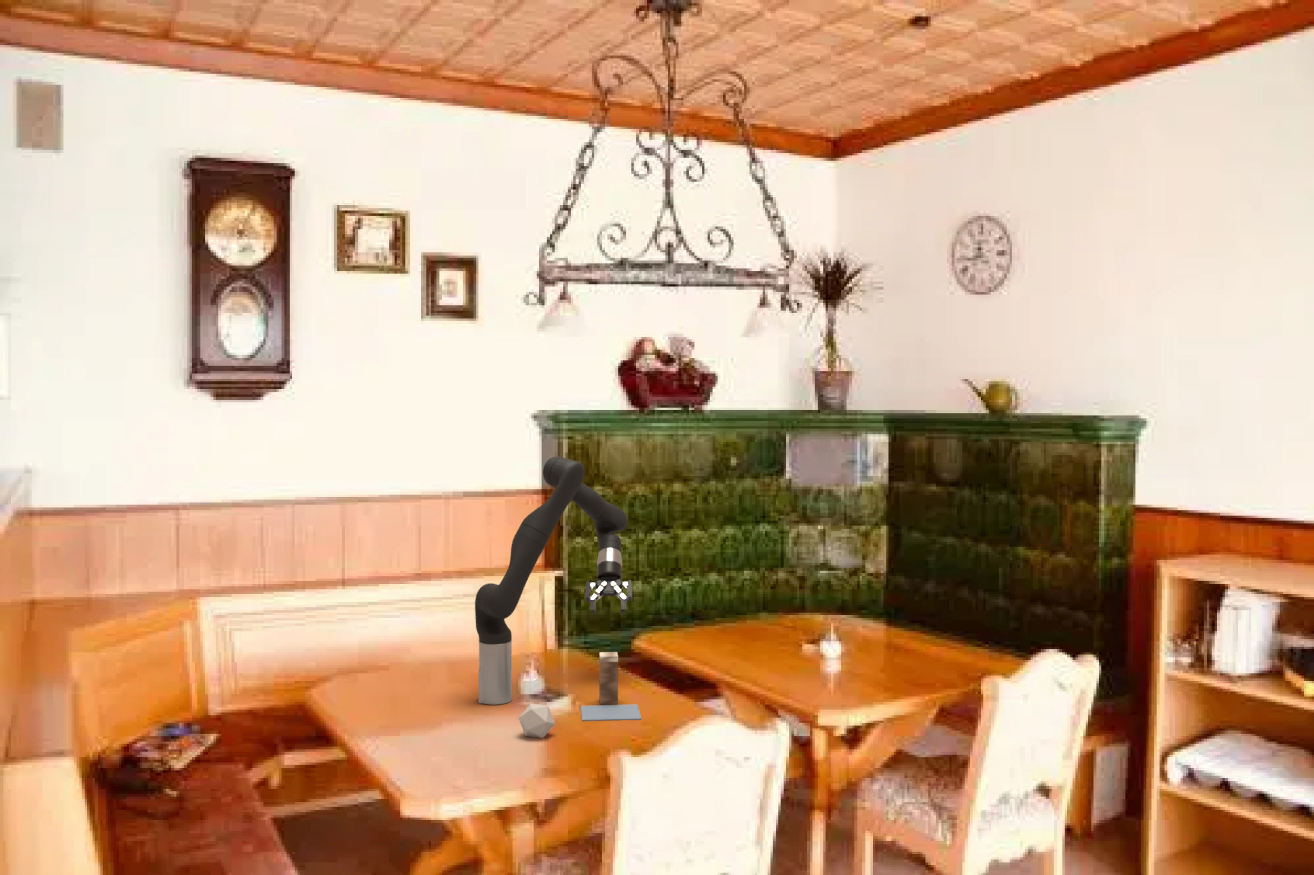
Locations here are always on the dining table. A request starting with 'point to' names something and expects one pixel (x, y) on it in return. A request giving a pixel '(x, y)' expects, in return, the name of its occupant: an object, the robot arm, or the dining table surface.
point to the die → (536, 720)
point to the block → (608, 678)
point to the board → (610, 712)
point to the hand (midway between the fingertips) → (608, 612)
